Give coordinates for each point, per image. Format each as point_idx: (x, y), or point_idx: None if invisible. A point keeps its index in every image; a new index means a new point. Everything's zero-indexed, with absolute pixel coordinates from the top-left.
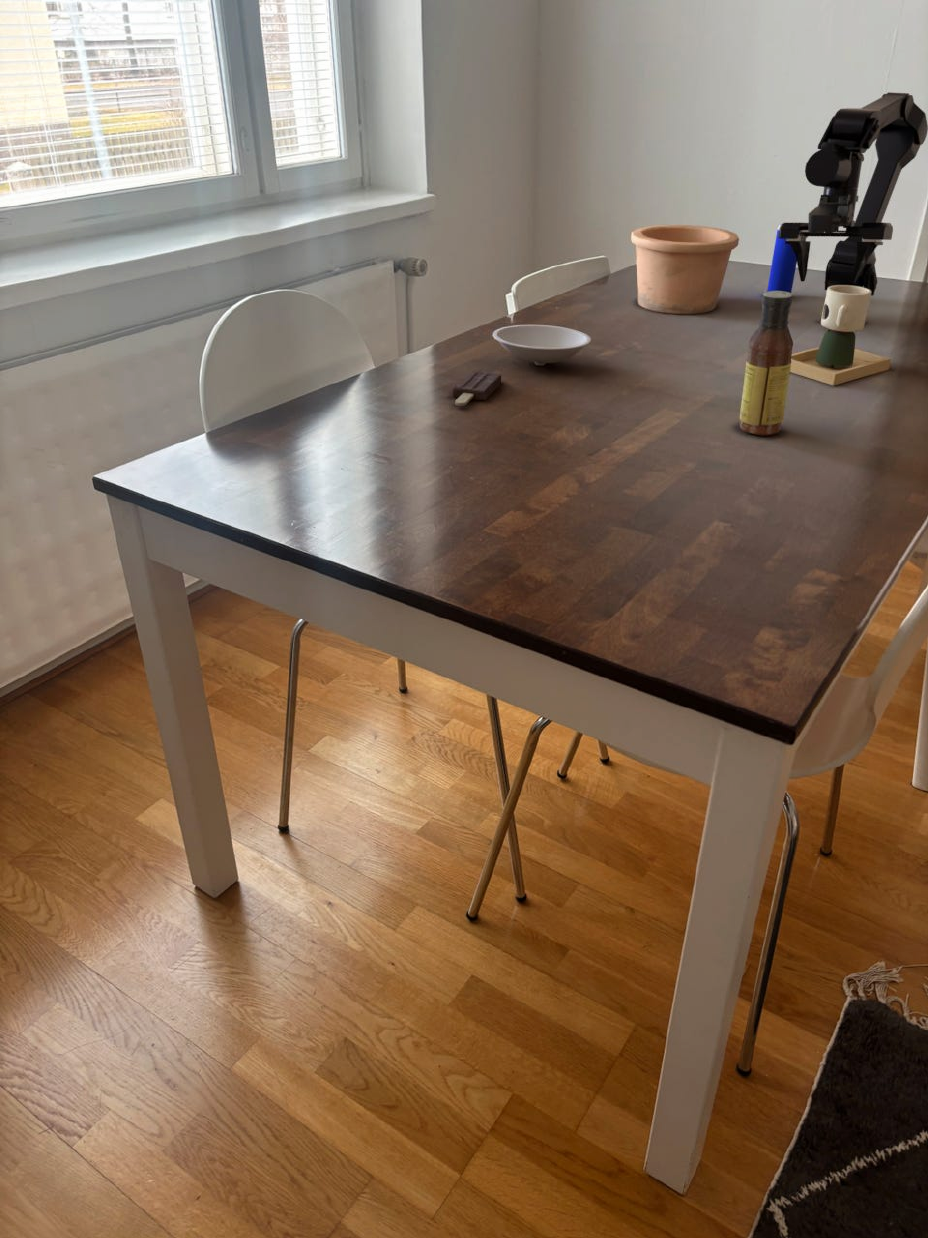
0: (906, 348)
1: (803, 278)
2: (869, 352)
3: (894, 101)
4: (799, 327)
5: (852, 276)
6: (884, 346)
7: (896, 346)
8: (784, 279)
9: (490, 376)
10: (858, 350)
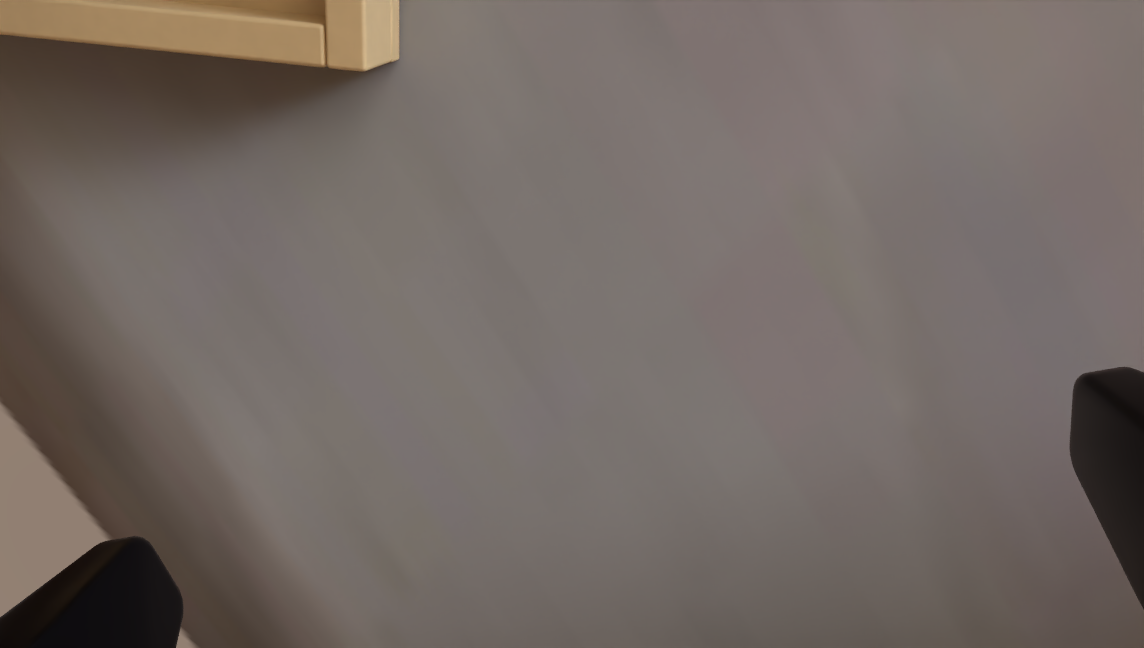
0: (201, 564)
1: (1095, 413)
2: (9, 29)
3: None
4: (1019, 538)
5: (61, 600)
6: (304, 514)
7: (263, 563)
8: None
9: None
10: (93, 7)
